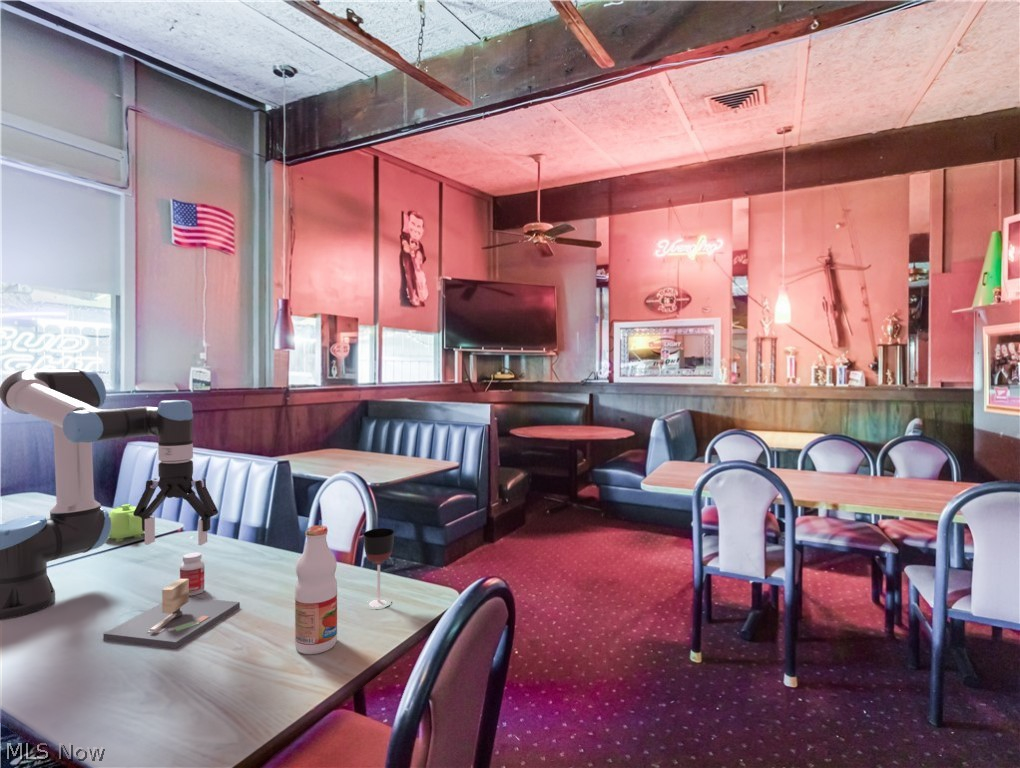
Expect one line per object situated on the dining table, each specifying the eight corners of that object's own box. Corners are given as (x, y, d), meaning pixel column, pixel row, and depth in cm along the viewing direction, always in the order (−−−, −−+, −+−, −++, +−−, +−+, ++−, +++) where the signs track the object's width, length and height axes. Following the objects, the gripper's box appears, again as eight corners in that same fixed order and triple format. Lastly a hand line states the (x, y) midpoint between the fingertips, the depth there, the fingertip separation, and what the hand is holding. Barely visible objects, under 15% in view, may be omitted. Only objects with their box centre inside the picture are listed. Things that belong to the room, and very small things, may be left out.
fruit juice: (298, 637, 131) (298, 523, 130) (338, 633, 133) (339, 521, 132) (291, 657, 122) (291, 535, 121) (335, 653, 124) (335, 532, 123)
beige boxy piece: (179, 609, 141) (178, 578, 141) (189, 609, 141) (189, 578, 141) (146, 632, 129) (146, 598, 128) (158, 632, 129) (157, 599, 128)
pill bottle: (205, 593, 155) (205, 556, 155) (180, 598, 152) (180, 560, 152) (203, 586, 160) (203, 549, 160) (179, 591, 157) (179, 553, 157)
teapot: (96, 536, 207) (96, 503, 207) (137, 528, 217) (137, 497, 217) (113, 547, 194) (112, 512, 194) (155, 538, 205) (155, 505, 204)
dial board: (103, 639, 129) (103, 632, 129) (176, 601, 150) (176, 595, 150) (175, 648, 125) (175, 641, 125) (239, 607, 147) (239, 601, 147)
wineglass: (399, 600, 152) (400, 530, 152) (380, 612, 144) (380, 539, 144) (377, 595, 156) (377, 526, 155) (356, 607, 148) (357, 535, 147)
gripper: (116, 462, 133) (117, 547, 134) (216, 463, 133) (217, 548, 134) (137, 457, 141) (137, 538, 141) (232, 458, 140) (232, 539, 141)
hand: (176, 543), depth 137 cm, fingers open, 13 cm apart
